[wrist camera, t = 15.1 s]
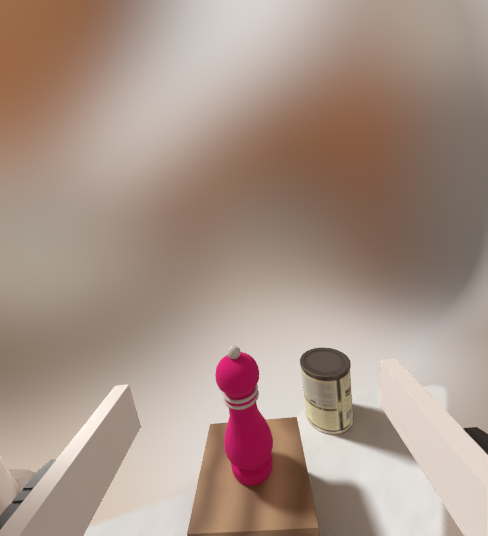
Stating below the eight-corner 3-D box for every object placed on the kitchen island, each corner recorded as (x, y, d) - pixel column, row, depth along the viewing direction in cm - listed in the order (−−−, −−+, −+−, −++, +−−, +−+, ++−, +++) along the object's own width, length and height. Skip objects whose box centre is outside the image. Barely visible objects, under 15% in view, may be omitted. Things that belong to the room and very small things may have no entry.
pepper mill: (280, 486, 34) (262, 358, 30) (228, 494, 34) (202, 366, 30) (272, 439, 41) (257, 330, 37) (229, 446, 41) (209, 337, 37)
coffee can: (307, 395, 62) (302, 346, 59) (351, 401, 59) (348, 348, 56) (303, 430, 53) (297, 373, 50) (355, 439, 49) (352, 378, 46)
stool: (201, 589, 32) (187, 534, 30) (218, 466, 48) (210, 424, 46) (324, 585, 31) (318, 527, 29) (301, 460, 47) (296, 417, 45)
